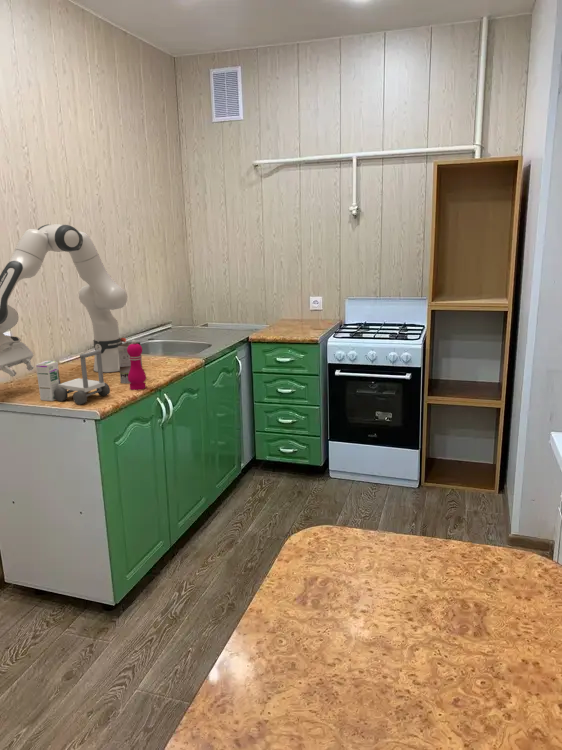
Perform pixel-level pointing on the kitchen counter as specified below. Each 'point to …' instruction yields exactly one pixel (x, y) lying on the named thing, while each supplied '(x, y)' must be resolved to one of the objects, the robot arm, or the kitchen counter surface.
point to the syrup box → (48, 379)
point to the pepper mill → (136, 367)
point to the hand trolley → (83, 383)
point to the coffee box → (124, 361)
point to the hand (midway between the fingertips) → (23, 372)
